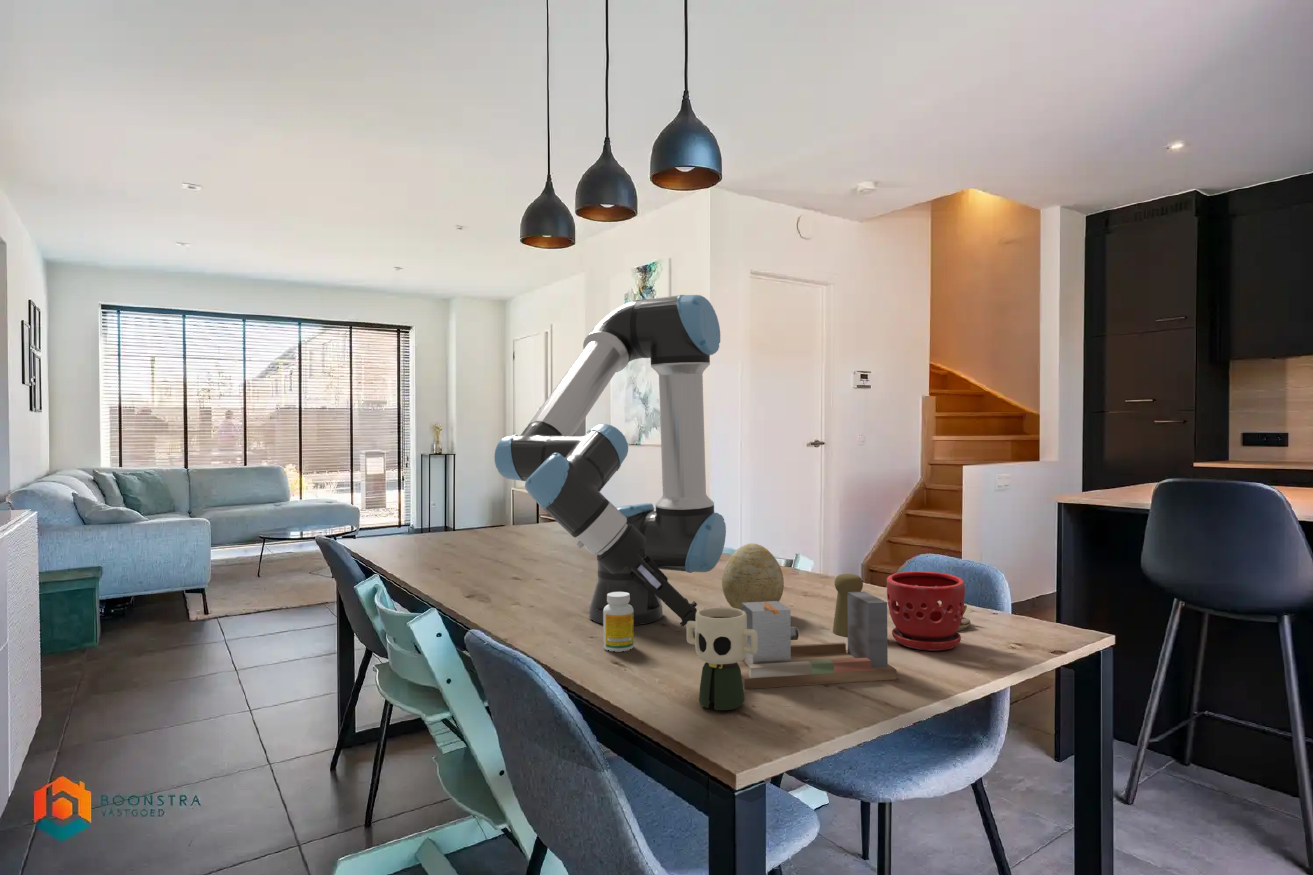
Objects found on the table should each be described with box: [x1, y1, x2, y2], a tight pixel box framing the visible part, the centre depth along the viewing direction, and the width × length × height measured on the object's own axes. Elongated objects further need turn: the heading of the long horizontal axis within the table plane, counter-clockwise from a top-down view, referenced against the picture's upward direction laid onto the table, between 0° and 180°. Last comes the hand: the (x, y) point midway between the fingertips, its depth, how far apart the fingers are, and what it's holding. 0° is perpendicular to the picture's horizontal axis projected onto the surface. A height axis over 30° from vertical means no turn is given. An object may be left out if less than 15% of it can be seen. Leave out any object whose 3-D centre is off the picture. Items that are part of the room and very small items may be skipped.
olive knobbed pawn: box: [832, 573, 864, 638], centre depth 140 cm, size 6×6×11 cm
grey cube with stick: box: [742, 601, 799, 665], centre depth 115 cm, size 8×8×10 cm
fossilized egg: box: [721, 542, 785, 610], centre depth 154 cm, size 13×13×15 cm
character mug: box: [685, 606, 758, 711], centre depth 103 cm, size 11×7×13 cm, turn 58°
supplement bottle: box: [602, 592, 635, 653], centre depth 131 cm, size 5×5×10 cm
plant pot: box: [886, 570, 966, 652], centre depth 132 cm, size 13×13×12 cm
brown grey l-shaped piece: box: [737, 591, 897, 690], centre depth 117 cm, size 11×24×12 cm, turn 99°
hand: (720, 644), depth 114 cm, fingers closed
